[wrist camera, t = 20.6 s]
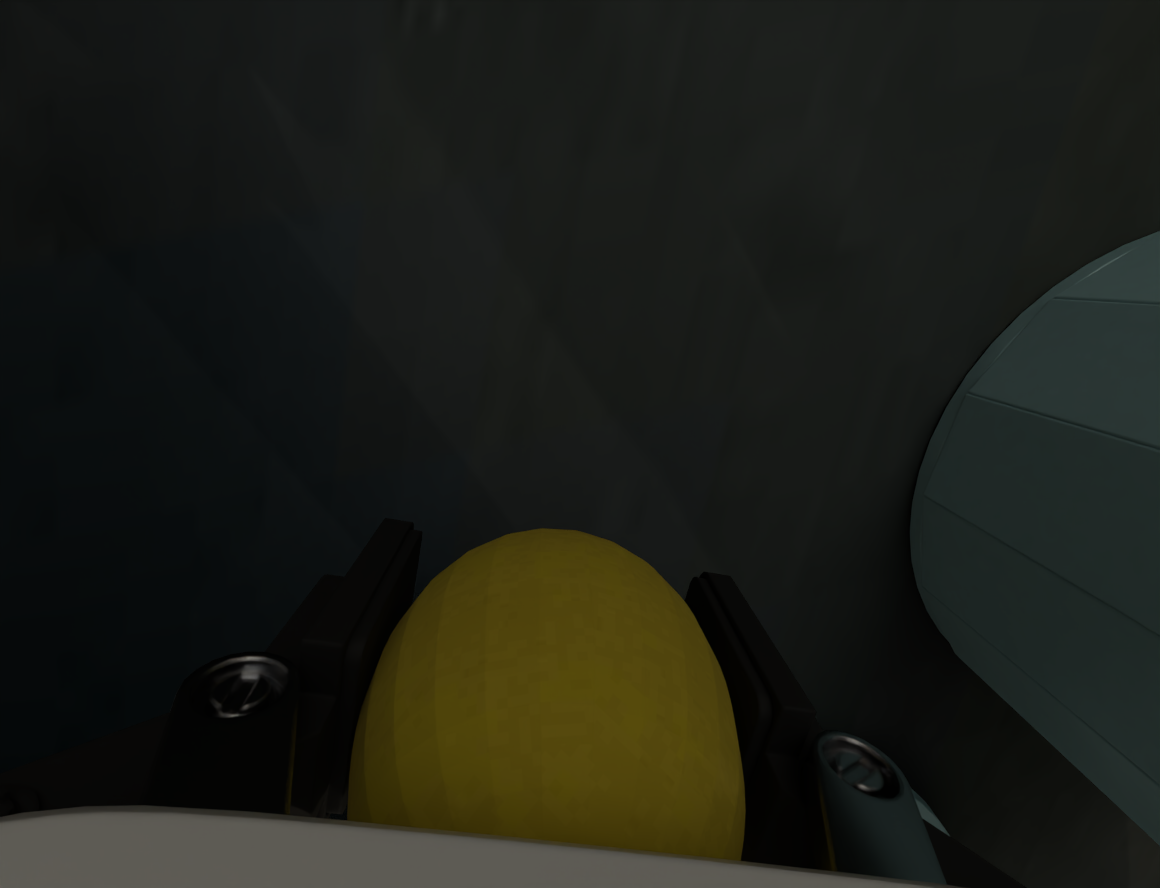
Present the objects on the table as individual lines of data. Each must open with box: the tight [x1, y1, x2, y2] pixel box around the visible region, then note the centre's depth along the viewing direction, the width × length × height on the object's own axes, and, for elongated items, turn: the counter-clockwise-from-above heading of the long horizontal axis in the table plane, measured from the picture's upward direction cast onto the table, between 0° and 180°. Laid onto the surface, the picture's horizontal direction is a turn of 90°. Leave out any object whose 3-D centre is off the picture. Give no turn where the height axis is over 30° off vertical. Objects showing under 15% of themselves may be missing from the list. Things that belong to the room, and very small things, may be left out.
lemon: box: [347, 528, 746, 861], centre depth 9 cm, size 6×6×8 cm
